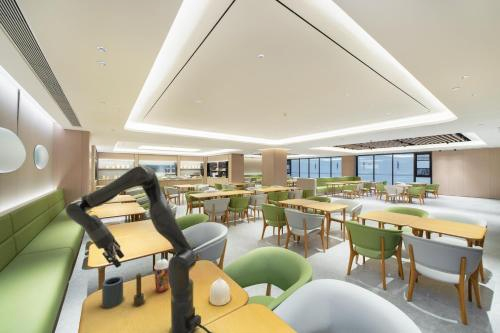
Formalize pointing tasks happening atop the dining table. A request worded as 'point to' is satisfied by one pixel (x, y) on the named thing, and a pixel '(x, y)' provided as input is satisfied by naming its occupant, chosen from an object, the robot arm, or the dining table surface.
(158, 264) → the smoothie
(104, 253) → the robot arm
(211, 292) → the white rounded dome
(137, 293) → the brush
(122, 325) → the dining table surface
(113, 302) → the jar
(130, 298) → the dining table surface
